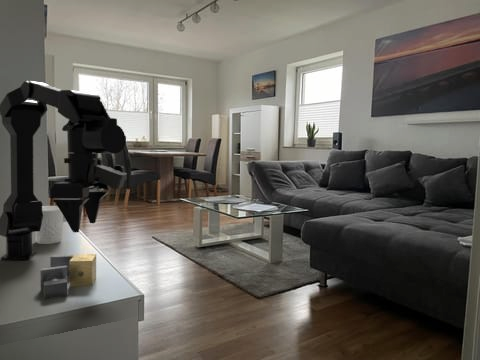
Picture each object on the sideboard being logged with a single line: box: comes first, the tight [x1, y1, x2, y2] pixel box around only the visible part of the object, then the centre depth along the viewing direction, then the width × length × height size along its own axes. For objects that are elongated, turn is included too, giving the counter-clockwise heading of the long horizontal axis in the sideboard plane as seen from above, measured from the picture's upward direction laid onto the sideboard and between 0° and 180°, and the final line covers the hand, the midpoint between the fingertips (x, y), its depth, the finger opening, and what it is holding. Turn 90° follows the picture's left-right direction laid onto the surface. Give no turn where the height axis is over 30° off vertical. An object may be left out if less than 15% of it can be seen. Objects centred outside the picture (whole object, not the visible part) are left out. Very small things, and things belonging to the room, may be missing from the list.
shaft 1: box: [39, 266, 68, 300], centre depth 72 cm, size 5×5×4 cm
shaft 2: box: [49, 254, 75, 277], centre depth 84 cm, size 5×5×4 cm
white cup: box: [34, 205, 64, 245], centre depth 107 cm, size 8×8×10 cm
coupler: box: [69, 253, 97, 287], centre depth 78 cm, size 4×4×6 cm
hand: (84, 227), depth 76 cm, fingers open, 9 cm apart
